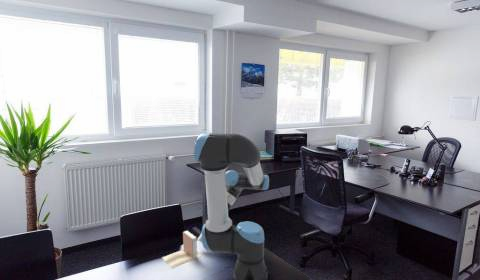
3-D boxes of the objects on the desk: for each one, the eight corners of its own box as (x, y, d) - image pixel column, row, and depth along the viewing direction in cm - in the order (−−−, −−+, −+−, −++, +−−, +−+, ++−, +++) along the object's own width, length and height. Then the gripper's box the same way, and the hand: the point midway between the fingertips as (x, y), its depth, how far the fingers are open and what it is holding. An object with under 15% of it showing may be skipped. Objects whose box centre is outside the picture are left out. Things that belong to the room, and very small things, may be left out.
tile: (197, 256, 145) (196, 237, 143) (192, 258, 144) (192, 239, 142) (187, 248, 152) (187, 230, 150) (183, 250, 151) (182, 232, 149)
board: (202, 257, 146) (202, 255, 146) (172, 270, 136) (172, 268, 136) (190, 248, 154) (190, 246, 154) (161, 259, 144) (161, 257, 144)
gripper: (237, 209, 155) (211, 249, 148) (222, 201, 165) (197, 239, 158) (229, 201, 151) (201, 243, 143) (214, 194, 161) (188, 233, 153)
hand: (199, 241), depth 151 cm, fingers closed
